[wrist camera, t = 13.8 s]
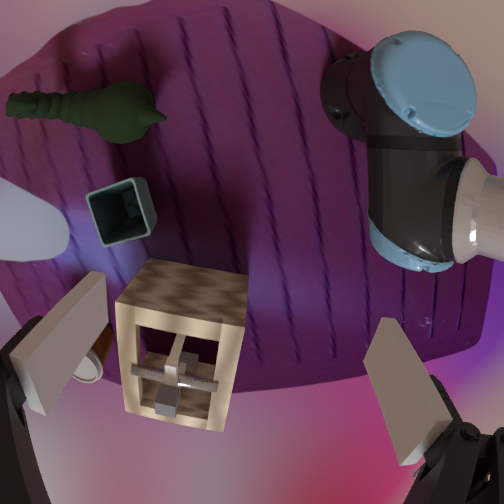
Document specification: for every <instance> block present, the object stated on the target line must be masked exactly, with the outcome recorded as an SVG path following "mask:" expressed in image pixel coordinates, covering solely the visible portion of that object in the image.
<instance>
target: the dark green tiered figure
mask: <svg viewBox="0 0 504 504" xmlns="http://www.w3.org/2000/svg"><path fill="white" fill-rule="evenodd" d="M6 116H7V117H11V116H16V117H17V118H18V119H22V118H23V117H24V118H27V117H29V118H30V119H34V118H42V117H43V118H46V119H56V118H59V119H60V120H62V121H64V122H65V123H70V122H72V123H73V124H74V125H77V126H81V127H83V126H85V127H87V128H90V129H93V130H96V131H97V132H98V134H99V135H100V136H101V137H103V138H104V139H106V140H107V141H110V142H113V143H120V144H124V143H129V142H132V141H134V140H137V139H141V138H143V136H144V134H145V132H146V131H147V130H148V129H149V127H150V126H151V124H153V123H157V122H161V121H165V120H166V119H167V117H166V116H165V115H164V114H162V113H161V112H159V111H157V110H156V109H155V105H154V101H153V93H152V92H151V91H148V90H147V89H146V88H145V87H143V86H142V85H140V84H138V83H136V82H130V81H122V82H117V83H114V84H112V85H110V86H108V87H107V88H105V89H98V90H96V89H94V90H91V91H81V92H78V93H77V92H76V91H73V90H72V91H70V92H68V93H65V94H63V95H62V94H60V93H57V92H52V93H48V94H46V93H43V92H41V93H40V92H39V91H35V92H33V93H27V92H26V91H23V92H21V93H20V94H15V93H11V94H10V95H9V97H8V101H7V103H6Z"/></svg>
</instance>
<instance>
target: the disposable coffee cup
mask: <svg viewBox="0 0 504 504" xmlns="http://www.w3.org/2000/svg"><path fill="white" fill-rule="evenodd" d="M113 340H114V333H113V331H112V329H111V328H110V327H109V326H108V325H106V326H105V328H104V329H103V331H102V332H101V334H100V335H99V336H98V338H97V339H96V341H95V342H94V344H93V345H92V347H91V348H90V350H89V351H88V352H87V354H86V355H85V357H84V358H83V360H82V361H81V363H80V364H79V366H78V367H77V369H76V370H75V372H74V373H73V375H72V377H74V378H75V379H77V380H79V381H81V382H84V383H93V382H95V381H96V380H98V379H100V378H101V376H102V374H103V366H104V364H105V361H106V358H107V356H108V353H109V351H110V348H111V345H112V343H113Z"/></svg>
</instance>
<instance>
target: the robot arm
mask: <svg viewBox="0 0 504 504" xmlns="http://www.w3.org/2000/svg"><path fill="white" fill-rule="evenodd" d="M320 95H321V102H322V106H323V109H324V111H325V113H326V115H327V117H328V119H329V120H330V122H331V123H332V124H333V125H334V126H335V127H336V128H337V129H338V130H339V131H340V132H341V133H343V134H344V135H346V136H348V137H350V138H352V139H355V140H358V141H363V142H367V162H368V186H369V205H368V208H367V216H368V220H369V232H370V239H371V242H372V244H373V246H374V248H375V249H376V250H377V252H378V253H379V254H380V255H382V256H383V257H384V258H386V259H387V260H389V261H390V262H392V263H394V264H396V265H398V266H401V267H404V268H407V269H410V270H414V271H421V270H422V269H424V270H426V271H428V272H440V271H443V270H446V269H448V268H449V267H451V266H452V264H453V263H454V262H457V263H465V262H466V261H468V260H469V259H471V258H472V257H474V256H475V255H478V254H480V255H483V256H487V257H490V258H493V259H497V260H500V261H504V177H498V176H493V175H490V174H488V173H487V172H486V170H485V169H484V168H483V166H482V165H481V164H480V162H479V161H478V160H477V159H475V158H469V157H462V155H461V131H462V130H464V129H465V128H466V127H467V126H468V125H469V123H470V122H469V120H470V118H472V117H473V116H474V114H475V110H476V103H477V94H476V88H475V84H474V80H473V78H472V75H471V73H470V71H469V69H468V67H467V65H466V64H465V62H464V61H463V59H462V58H461V57H460V55H458V54H456V53H455V52H454V51H453V50H452V48H451V46H450V45H448V44H447V43H446V42H445V41H443V40H441V39H440V38H438V37H435V36H434V35H432V34H429V33H425V32H421V31H405V32H400V33H398V34H395V35H392V36H390V37H386V38H384V39H383V40H381V41H380V42H379V43H377V45H376V46H375V47H373V48H372V49H371V50H370V51H368V52H364V51H360V52H353V53H349V54H346V55H344V56H342V57H340V58H339V59H337V60H336V61H335V62H334V63H333V64H332V65H331V66H330V67H329V68H328V69H327V71H326V72H325V74H324V77H323V79H322V83H321V90H320ZM108 322H109V321H108V309H107V294H106V275H105V273H101V272H96V271H91V272H90V273H88V274H87V275H86V276H85V277H84V278H83V279H82V280H81V281H80V282H79V283H78V284H77V285H76V286H75V287H74V288H73V289H72V290H71V291H70V292H69V293H68V294H67V295H65V296H64V297H63V298H62V299H61V300H60V301H59V302H58V303H57V304H56V305H55V306H54V307H53V308H52V309H51V310H50V311H49V313H48V314H47V315H46V316H45V317H42V316H39V315H38V316H37V317H35V318H33V319H31V320H29V321H28V322H27V323H26V324H25V325H24V326H23V327H22V329H20V330H19V331H18V332H17V333H16V335H14V336H13V337H12V338H11V339H10V340H9V341H8V342H7V343H6V345H5V346H4V347H3V348H2V349H1V350H0V504H51V502H50V499H49V496H48V494H47V491H46V488H45V485H44V483H43V480H42V476H41V473H40V470H39V467H38V464H37V461H36V457H35V453H34V450H33V446H32V442H31V438H30V434H29V430H28V426H27V421H26V416H25V412H24V409H23V406H22V405H23V403H24V402H25V400H26V399H27V401H28V404H29V406H30V408H31V409H32V410H34V411H36V412H38V413H40V414H43V415H45V416H47V415H48V413H49V411H50V410H51V408H52V407H53V405H54V403H55V402H56V400H57V399H58V397H59V395H60V394H61V392H62V390H63V389H64V387H65V386H66V384H67V383H68V381H69V380H70V378H71V377H72V375H73V373H74V372H75V370H76V369H77V367H78V366H79V364H80V363H81V361H82V360H83V358H84V357H85V355H86V354H87V352H88V351H89V350H90V348H91V347H92V345H93V344H94V342H95V341H96V339H97V338H98V336H99V335H100V334H101V332H102V331H103V329H104V328H105V326H106V325H107V324H108ZM363 362H364V365H365V368H366V370H367V373H368V375H369V378H370V381H371V383H372V386H373V389H374V392H375V394H376V397H377V400H378V403H379V406H380V408H381V411H382V414H383V417H384V420H385V422H386V426H387V429H388V432H389V434H390V437H391V440H392V444H393V447H394V450H395V453H396V456H397V459H398V462H399V465H400V466H402V465H409V464H416V463H417V461H418V460H419V459H420V458H421V457H422V456H423V455H424V457H425V460H426V462H425V463H424V464H423V465H422V466H421V467H420V468H419V469H418V470H417V471H416V472H415V473H414V474H413V476H412V477H415V476H416V475H417V474H418V475H417V477H416V480H415V481H414V484H413V485H412V487H411V490H410V491H409V493H408V495H407V497H406V499H405V501H404V503H403V504H504V427H500V428H498V429H497V430H496V432H495V433H494V434H493V435H484V434H481V433H480V431H479V429H478V428H477V427H476V426H474V425H473V424H471V423H468V422H463V421H462V419H461V417H460V415H459V413H458V412H457V410H456V408H455V406H454V404H453V402H452V401H451V399H449V398H450V397H449V395H448V394H447V392H446V390H445V388H444V386H443V385H442V383H441V382H440V381H439V380H438V379H437V378H436V377H435V376H434V375H429V374H428V372H427V371H426V369H425V367H424V365H423V364H422V362H421V360H420V359H419V357H418V355H417V353H416V352H415V350H414V348H413V347H412V345H411V343H410V342H409V340H408V338H407V337H406V335H405V334H404V332H403V330H402V329H401V327H400V325H399V324H398V322H397V321H396V319H394V318H384V317H382V318H381V321H380V323H379V326H378V328H377V331H376V333H375V335H374V338H373V340H372V342H371V345H370V347H369V349H368V351H367V354H366V356H365V358H364V360H363ZM489 474H490V480H489V481H488V475H489Z"/></svg>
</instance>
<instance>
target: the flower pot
mask: <svg viewBox="0 0 504 504" xmlns="http://www.w3.org/2000/svg"><path fill="white" fill-rule="evenodd" d="M134 191H135V192H136V194H134ZM86 200H87V203H88V206H89V209H90V212H91V215H92V218H93V221H94V224H95V227H96V230H97V233H98V236H99V239H100V242H101V244H102V246H103V247H109V246H112V245H115V244H119V243H122V242H126V241H130V240H134V239H137V238H141V237H146V236H149V235H150V234H151V232H152V231H153V229H154V227H155V225H156V223H157V215H156V211H155V208H154V205H153V202H152V198H151V195H150V192H149V188H148V185H147V182H146V180H145V179H144V178H142V177H133V178H128V179H126V180H123V181H120V182H118V183H115V184H112V185H109V186H107V187H104V188H101V189H98V190H96V191H93V192H90V193H88V194H86ZM129 203H131V205H129ZM139 209H141V212H140V211H139Z"/></svg>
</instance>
